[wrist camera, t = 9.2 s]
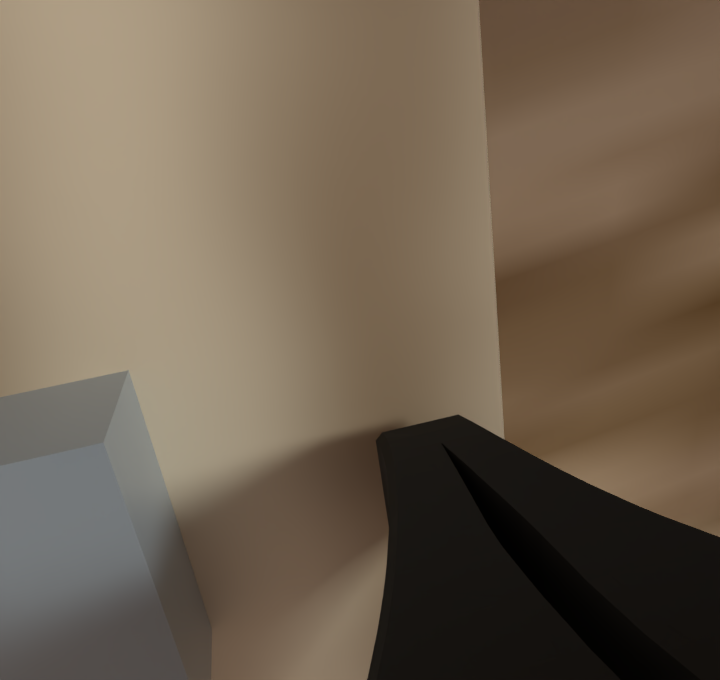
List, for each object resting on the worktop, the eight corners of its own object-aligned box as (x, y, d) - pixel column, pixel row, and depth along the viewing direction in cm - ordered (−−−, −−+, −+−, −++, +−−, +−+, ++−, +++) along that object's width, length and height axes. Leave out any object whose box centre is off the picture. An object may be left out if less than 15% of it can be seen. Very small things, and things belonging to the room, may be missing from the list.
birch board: (405, -43, 10) (473, -96, 7) (484, 767, 18) (530, 884, 16) (-774, 108, 8) (-1293, 112, 5) (-88, 952, 16) (-151, 1127, 13)
